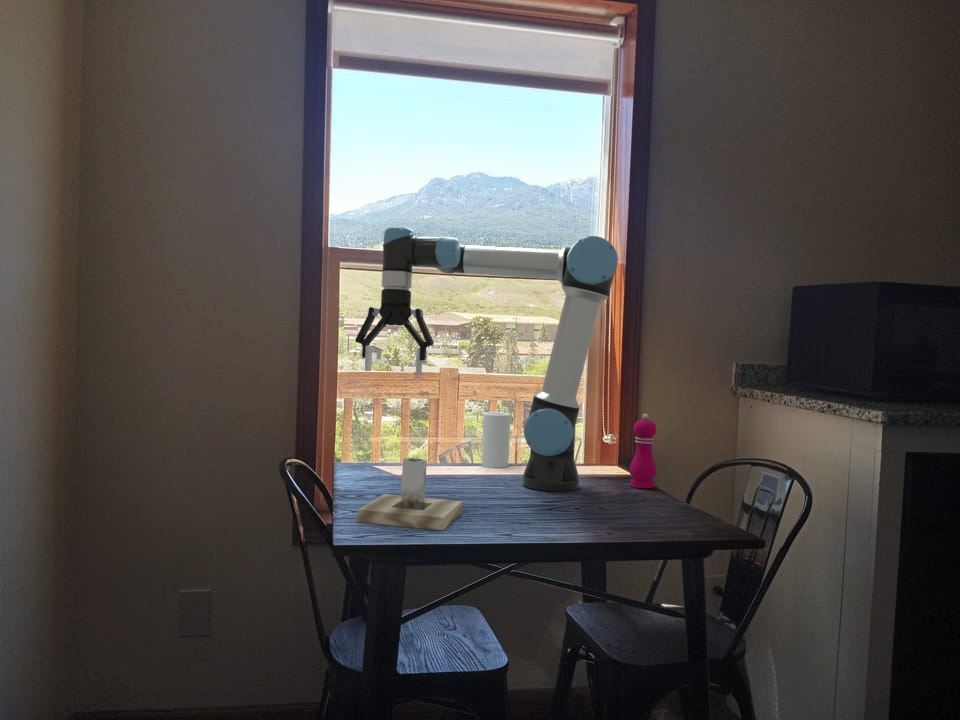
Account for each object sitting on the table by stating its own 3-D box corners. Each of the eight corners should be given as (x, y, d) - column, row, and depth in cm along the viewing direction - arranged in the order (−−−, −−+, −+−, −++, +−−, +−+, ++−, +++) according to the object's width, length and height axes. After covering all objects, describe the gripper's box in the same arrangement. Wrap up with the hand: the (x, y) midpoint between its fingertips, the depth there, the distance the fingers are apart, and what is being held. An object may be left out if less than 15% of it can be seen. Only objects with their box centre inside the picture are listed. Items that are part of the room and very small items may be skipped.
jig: (462, 512, 160) (462, 501, 160) (442, 530, 144) (443, 517, 144) (384, 505, 164) (384, 494, 163) (357, 521, 148) (357, 509, 148)
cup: (508, 468, 218) (511, 415, 218) (481, 467, 218) (483, 414, 218) (508, 464, 226) (510, 412, 226) (481, 462, 227) (483, 411, 226)
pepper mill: (647, 484, 203) (651, 412, 202) (660, 489, 196) (664, 415, 195) (624, 484, 201) (627, 412, 200) (636, 489, 194) (639, 414, 193)
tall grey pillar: (426, 515, 156) (429, 458, 156) (419, 520, 151) (423, 462, 151) (403, 512, 157) (407, 456, 156) (396, 518, 152) (399, 460, 152)
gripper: (447, 291, 187) (444, 374, 188) (356, 289, 193) (352, 369, 193) (439, 289, 180) (436, 375, 180) (344, 286, 185) (341, 370, 186)
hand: (393, 372), depth 187 cm, fingers open, 13 cm apart
